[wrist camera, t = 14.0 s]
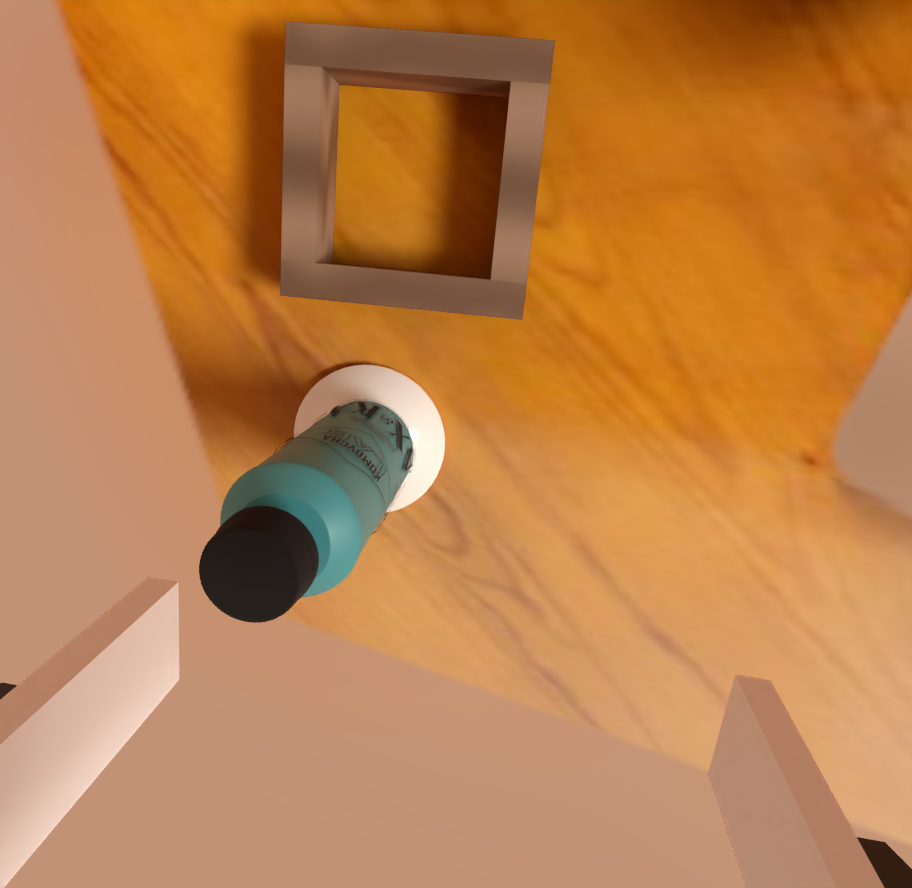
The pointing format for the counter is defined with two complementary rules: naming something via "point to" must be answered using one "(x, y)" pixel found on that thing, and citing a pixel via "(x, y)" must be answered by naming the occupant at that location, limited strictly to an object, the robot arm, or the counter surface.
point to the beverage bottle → (306, 512)
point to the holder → (423, 69)
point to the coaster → (396, 395)
